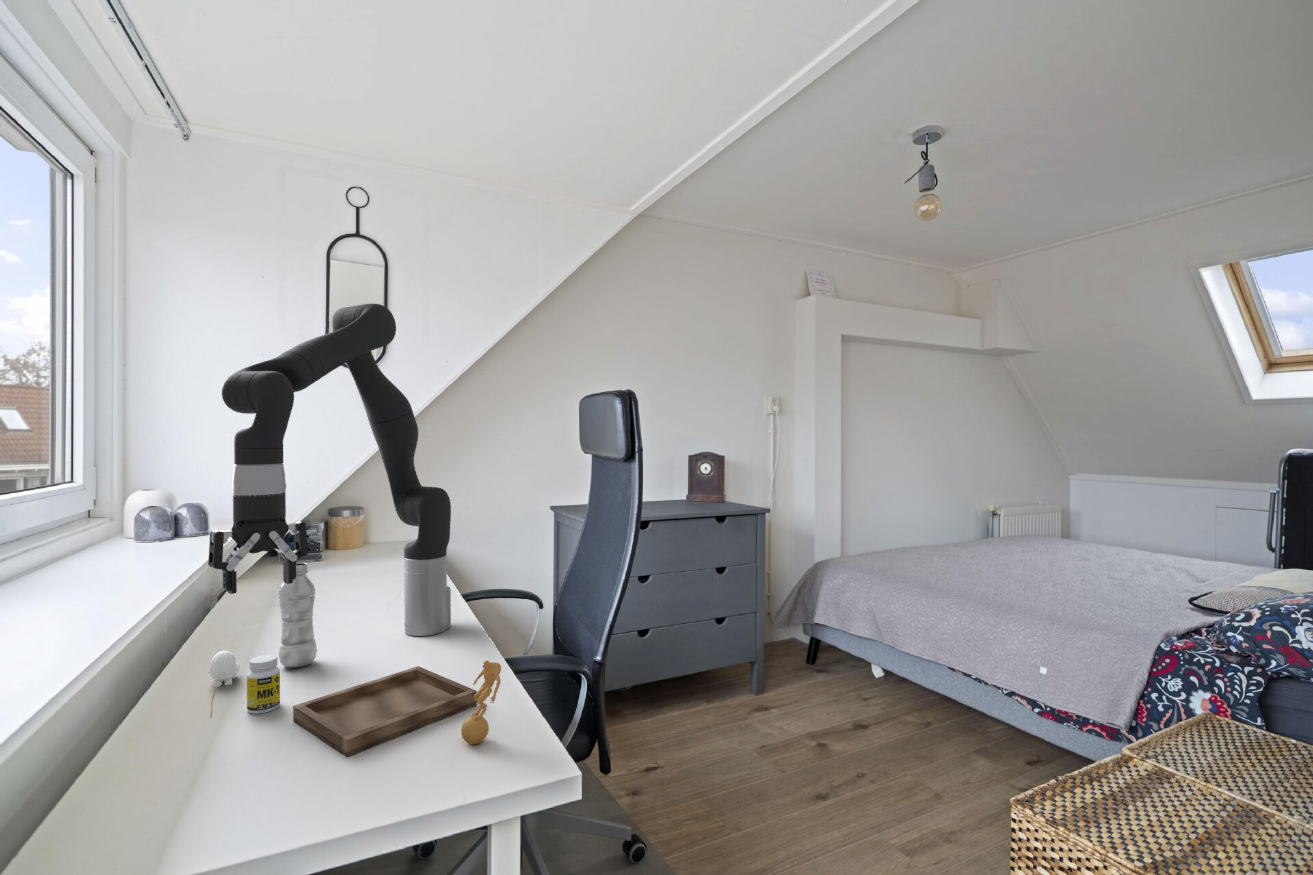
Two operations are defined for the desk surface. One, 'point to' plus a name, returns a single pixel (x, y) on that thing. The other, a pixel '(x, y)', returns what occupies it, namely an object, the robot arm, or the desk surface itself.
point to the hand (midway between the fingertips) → (260, 587)
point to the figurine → (481, 704)
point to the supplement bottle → (263, 684)
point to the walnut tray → (382, 709)
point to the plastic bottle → (297, 620)
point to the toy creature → (224, 668)
